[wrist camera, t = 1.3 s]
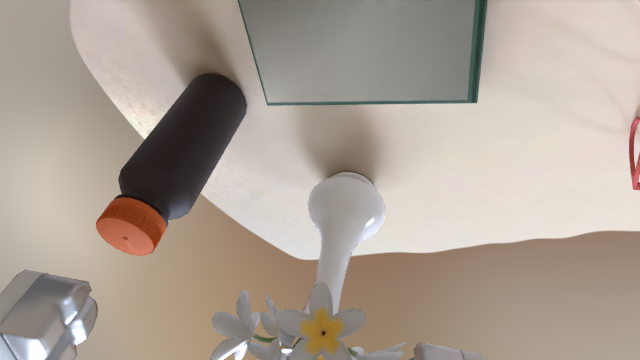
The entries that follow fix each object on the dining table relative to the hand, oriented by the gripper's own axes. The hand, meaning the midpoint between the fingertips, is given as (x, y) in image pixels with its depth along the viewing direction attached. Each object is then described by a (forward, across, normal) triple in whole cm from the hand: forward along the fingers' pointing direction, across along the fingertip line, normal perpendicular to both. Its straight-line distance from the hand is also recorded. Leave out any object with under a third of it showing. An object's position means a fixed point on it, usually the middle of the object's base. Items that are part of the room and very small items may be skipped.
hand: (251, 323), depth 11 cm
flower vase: (+36, -3, +25) cm, 45 cm away
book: (+34, -2, +3) cm, 34 cm away
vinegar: (+36, +13, +15) cm, 41 cm away
